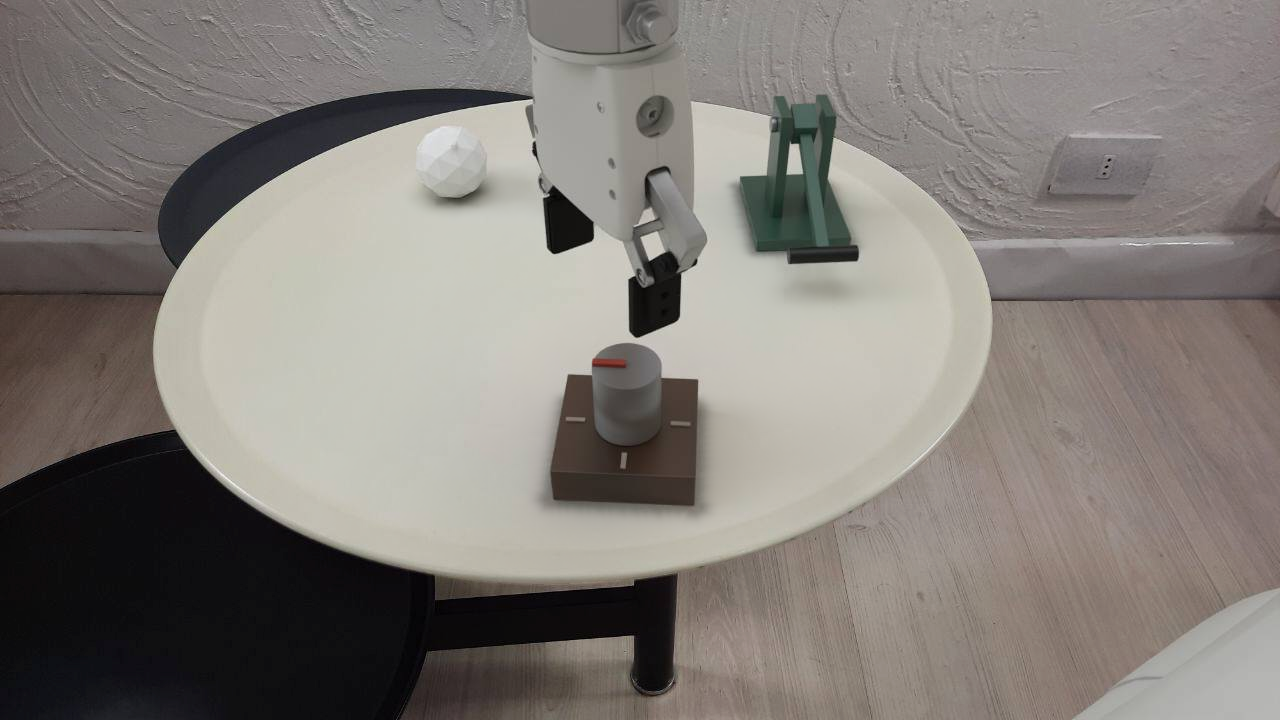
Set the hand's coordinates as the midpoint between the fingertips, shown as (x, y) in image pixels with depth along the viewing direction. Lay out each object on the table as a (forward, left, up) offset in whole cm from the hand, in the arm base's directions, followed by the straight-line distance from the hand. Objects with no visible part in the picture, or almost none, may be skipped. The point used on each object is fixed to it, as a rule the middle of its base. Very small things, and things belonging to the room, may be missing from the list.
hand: (610, 284), depth 57 cm
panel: (+1, -2, -17) cm, 17 cm away
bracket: (+19, -33, -17) cm, 41 cm away
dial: (+1, -2, -14) cm, 14 cm away
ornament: (+42, -7, -17) cm, 46 cm away
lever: (+14, -30, -11) cm, 35 cm away
